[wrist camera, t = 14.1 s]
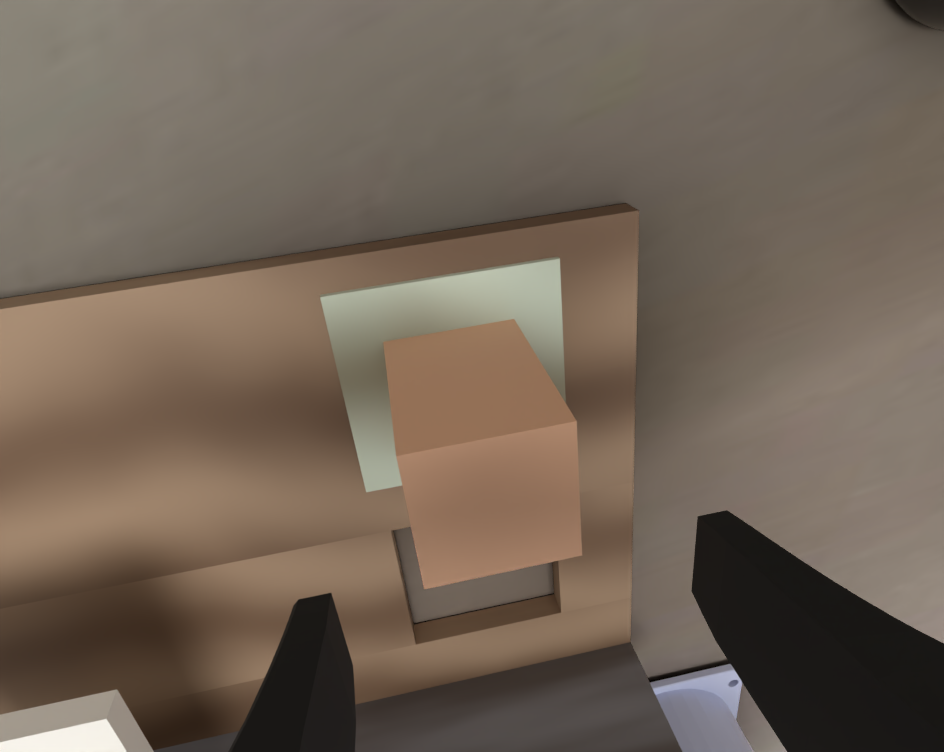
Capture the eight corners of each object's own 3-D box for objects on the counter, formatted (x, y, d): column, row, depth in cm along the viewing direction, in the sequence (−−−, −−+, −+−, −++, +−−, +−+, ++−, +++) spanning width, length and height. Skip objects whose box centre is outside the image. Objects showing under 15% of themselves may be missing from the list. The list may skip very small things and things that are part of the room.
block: (523, 428, 21) (582, 555, 16) (405, 451, 21) (423, 589, 15) (514, 318, 19) (576, 421, 14) (383, 341, 19) (396, 456, 13)
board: (621, 656, 29) (684, 798, 24) (59, 785, 27) (-18, 977, 21) (626, 203, 19) (736, 264, 14) (-272, 340, 17) (-578, 483, 11)
